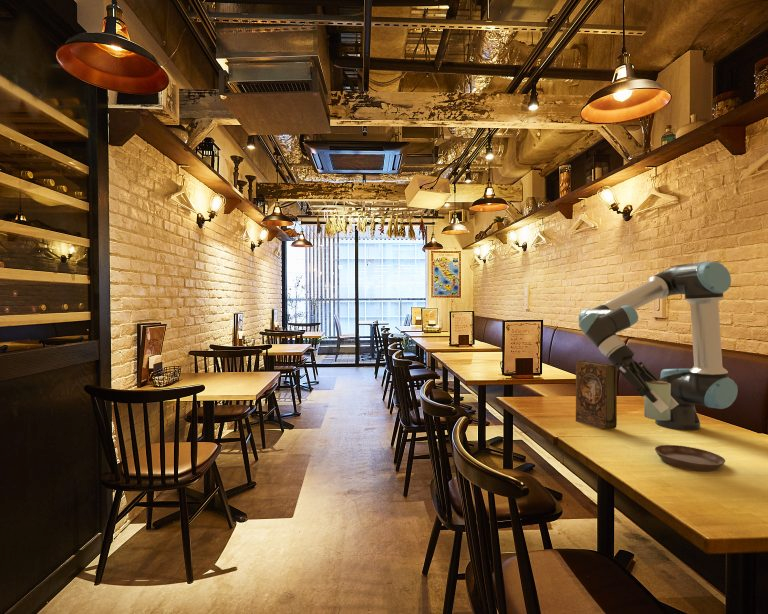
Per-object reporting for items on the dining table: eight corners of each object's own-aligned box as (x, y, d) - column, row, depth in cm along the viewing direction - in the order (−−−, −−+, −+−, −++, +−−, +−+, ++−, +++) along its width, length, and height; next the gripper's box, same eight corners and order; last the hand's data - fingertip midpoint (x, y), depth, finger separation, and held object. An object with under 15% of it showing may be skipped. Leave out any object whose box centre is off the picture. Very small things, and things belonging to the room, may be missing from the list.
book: (573, 420, 185) (573, 361, 185) (583, 419, 187) (583, 360, 187) (606, 430, 169) (606, 365, 169) (616, 429, 171) (616, 365, 171)
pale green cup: (664, 415, 141) (664, 380, 141) (674, 421, 134) (674, 384, 134) (640, 414, 143) (641, 379, 142) (649, 419, 136) (649, 383, 136)
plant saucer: (720, 460, 137) (720, 450, 137) (730, 478, 122) (730, 467, 122) (654, 450, 146) (654, 441, 146) (655, 466, 131) (655, 456, 131)
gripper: (622, 356, 157) (673, 410, 144) (593, 360, 145) (646, 420, 132) (638, 342, 152) (692, 397, 139) (610, 345, 140) (666, 406, 127)
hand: (669, 408), depth 136 cm, fingers closed on pale green cup, 7 cm apart
